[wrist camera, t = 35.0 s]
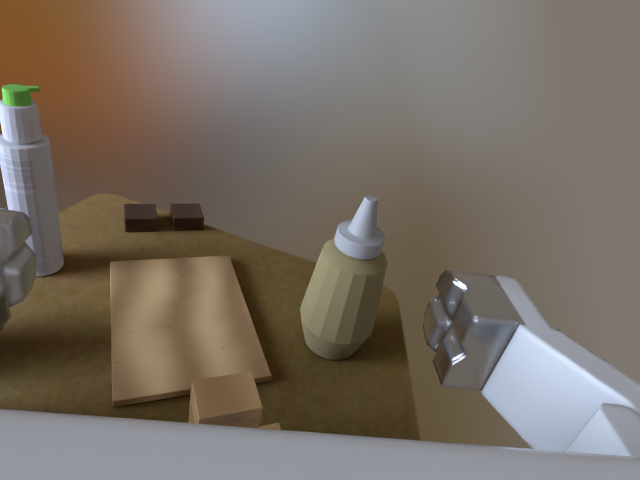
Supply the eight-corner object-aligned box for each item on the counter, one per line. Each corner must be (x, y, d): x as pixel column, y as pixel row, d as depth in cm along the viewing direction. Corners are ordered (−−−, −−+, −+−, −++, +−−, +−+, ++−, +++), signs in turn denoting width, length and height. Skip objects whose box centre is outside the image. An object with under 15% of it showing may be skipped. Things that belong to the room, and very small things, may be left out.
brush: (273, 444, 39) (295, 353, 33) (291, 502, 35) (319, 410, 30) (134, 475, 35) (132, 376, 29) (138, 545, 31) (136, 447, 25)
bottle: (67, 272, 52) (46, 96, 41) (21, 280, 49) (-13, 94, 39) (60, 251, 55) (40, 81, 44) (17, 257, 52) (-16, 79, 42)
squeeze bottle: (279, 344, 49) (311, 195, 40) (316, 306, 55) (350, 170, 46) (346, 382, 46) (397, 232, 37) (376, 338, 53) (426, 200, 44)
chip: (155, 216, 65) (155, 203, 64) (157, 231, 62) (157, 218, 61) (124, 216, 64) (124, 203, 62) (125, 232, 61) (124, 219, 59)
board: (228, 260, 60) (229, 255, 59) (270, 381, 45) (271, 375, 44) (110, 266, 54) (109, 261, 54) (112, 407, 39) (112, 401, 39)
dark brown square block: (198, 215, 68) (199, 203, 67) (203, 230, 65) (204, 217, 64) (170, 215, 66) (170, 203, 65) (173, 230, 63) (173, 218, 62)
